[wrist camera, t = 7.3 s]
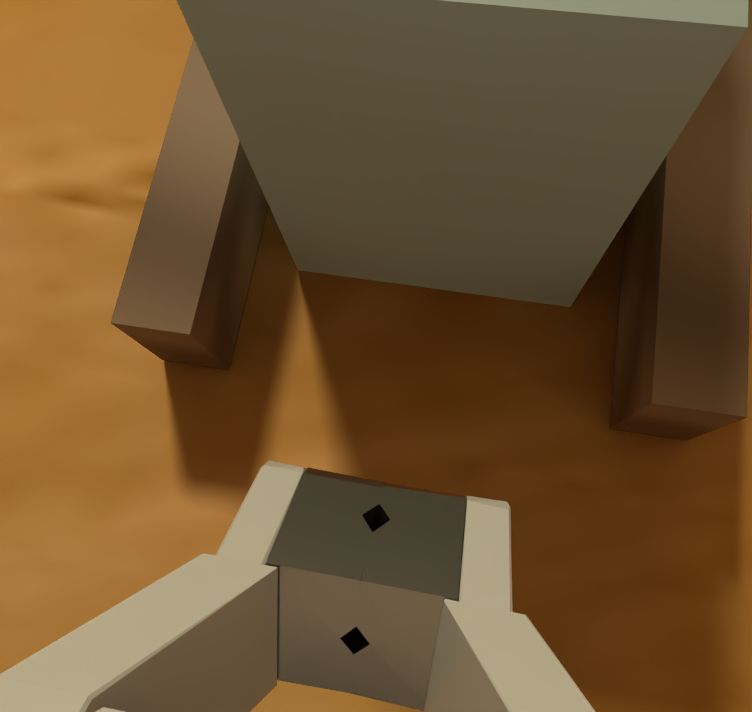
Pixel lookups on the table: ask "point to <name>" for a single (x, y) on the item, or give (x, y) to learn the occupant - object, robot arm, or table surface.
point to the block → (460, 127)
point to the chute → (639, 269)
